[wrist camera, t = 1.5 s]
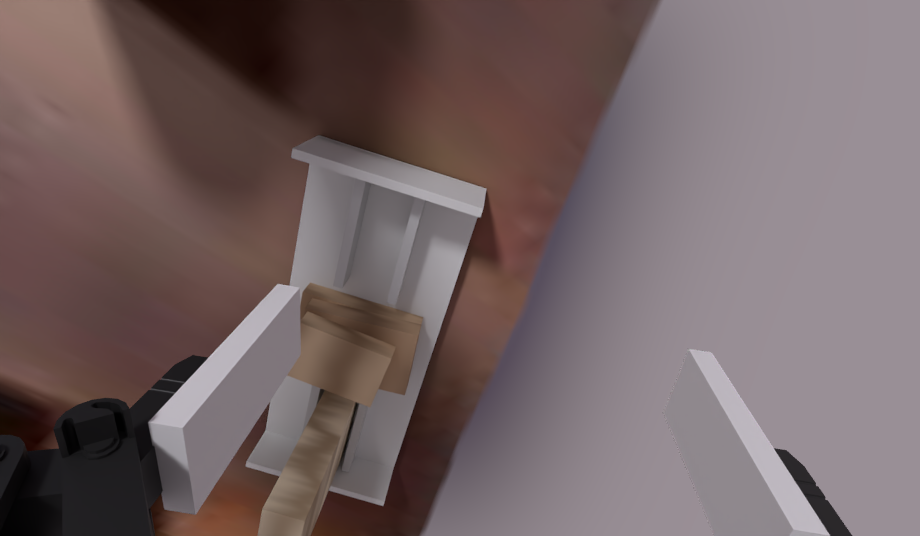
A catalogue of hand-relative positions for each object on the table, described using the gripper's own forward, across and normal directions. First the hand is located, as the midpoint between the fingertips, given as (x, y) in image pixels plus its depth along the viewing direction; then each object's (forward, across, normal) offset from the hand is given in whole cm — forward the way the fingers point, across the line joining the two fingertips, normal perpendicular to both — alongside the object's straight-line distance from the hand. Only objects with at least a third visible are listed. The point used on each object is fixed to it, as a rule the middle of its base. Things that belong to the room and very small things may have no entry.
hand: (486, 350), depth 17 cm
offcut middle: (+27, -11, -20) cm, 35 cm away
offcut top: (+25, -12, -20) cm, 34 cm away
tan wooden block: (+29, -14, -32) cm, 45 cm away
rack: (+30, -12, -20) cm, 38 cm away
